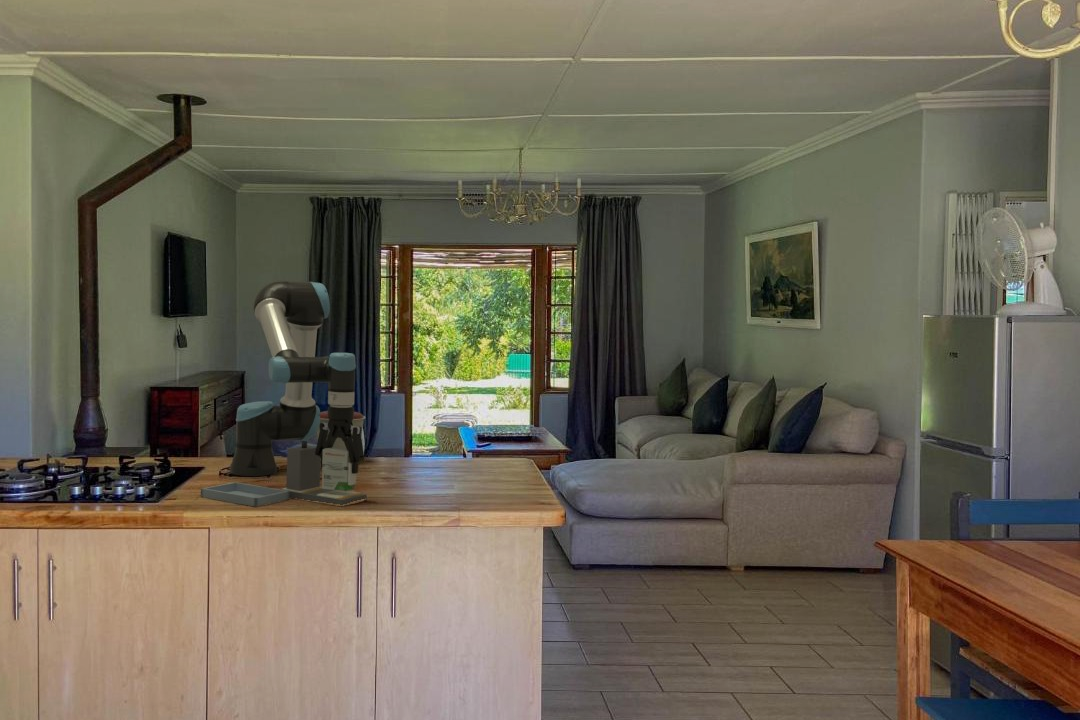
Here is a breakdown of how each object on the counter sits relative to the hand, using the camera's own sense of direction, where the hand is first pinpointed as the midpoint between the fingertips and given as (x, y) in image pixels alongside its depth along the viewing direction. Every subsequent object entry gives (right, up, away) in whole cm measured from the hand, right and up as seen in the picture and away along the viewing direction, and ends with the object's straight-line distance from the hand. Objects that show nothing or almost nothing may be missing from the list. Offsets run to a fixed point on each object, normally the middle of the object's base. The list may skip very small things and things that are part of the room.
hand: (338, 482), depth 301 cm
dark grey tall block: (-12, -2, +7) cm, 14 cm away
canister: (-13, -1, +68) cm, 69 cm away
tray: (-27, -5, -1) cm, 27 cm away
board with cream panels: (-5, -5, +3) cm, 8 cm away
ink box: (0, -2, 0) cm, 2 cm away
